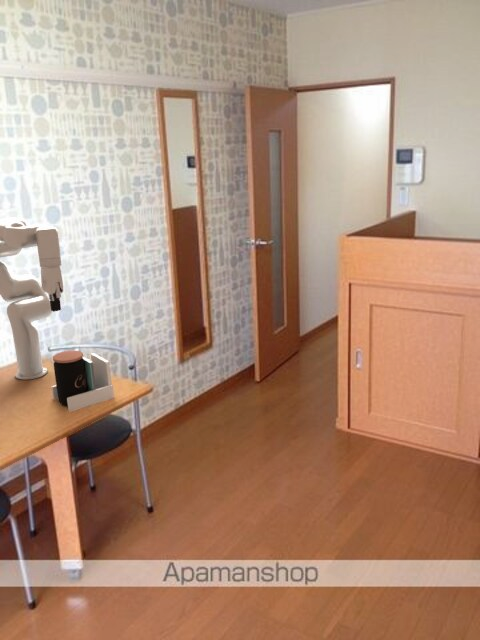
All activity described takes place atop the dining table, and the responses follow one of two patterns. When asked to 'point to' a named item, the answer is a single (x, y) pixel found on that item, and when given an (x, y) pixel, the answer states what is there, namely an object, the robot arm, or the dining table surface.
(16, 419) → the dining table surface
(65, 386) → the coffee jar
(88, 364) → the plate
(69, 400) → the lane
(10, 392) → the dining table surface
